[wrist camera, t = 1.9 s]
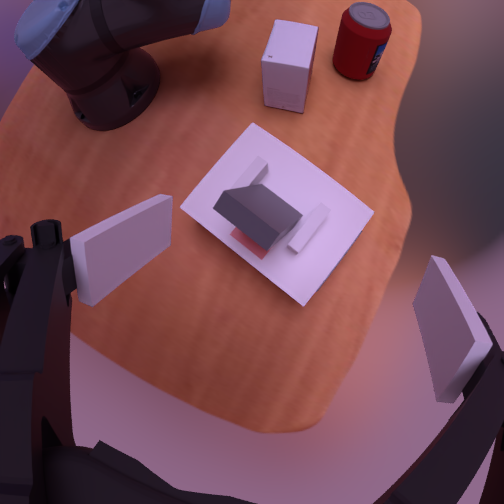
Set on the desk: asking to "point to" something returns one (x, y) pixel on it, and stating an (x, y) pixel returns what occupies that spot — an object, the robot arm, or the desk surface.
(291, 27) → the small box
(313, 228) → the breaker box
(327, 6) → the desk surface
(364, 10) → the beverage can
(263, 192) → the lever
